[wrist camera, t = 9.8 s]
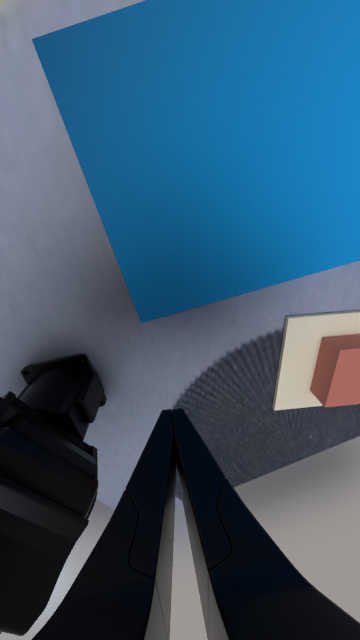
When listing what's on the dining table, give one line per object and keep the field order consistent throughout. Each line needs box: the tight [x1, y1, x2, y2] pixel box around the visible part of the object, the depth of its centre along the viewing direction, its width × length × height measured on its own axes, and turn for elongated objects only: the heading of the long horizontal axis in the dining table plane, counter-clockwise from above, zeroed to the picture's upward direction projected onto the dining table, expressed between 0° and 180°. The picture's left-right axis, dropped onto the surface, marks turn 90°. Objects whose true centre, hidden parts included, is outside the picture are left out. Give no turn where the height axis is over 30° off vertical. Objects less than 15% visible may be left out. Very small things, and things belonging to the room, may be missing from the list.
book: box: [32, 0, 360, 323], centre depth 16 cm, size 17×4×25 cm
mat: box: [272, 310, 360, 410], centre depth 25 cm, size 16×12×1 cm
